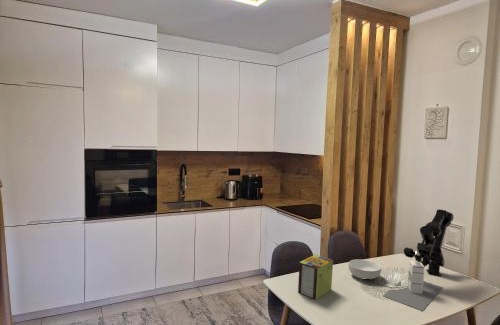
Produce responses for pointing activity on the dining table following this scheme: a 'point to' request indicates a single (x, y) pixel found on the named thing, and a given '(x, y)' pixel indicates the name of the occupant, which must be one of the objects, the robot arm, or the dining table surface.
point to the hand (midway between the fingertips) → (418, 270)
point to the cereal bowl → (364, 269)
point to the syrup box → (416, 277)
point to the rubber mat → (414, 295)
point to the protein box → (315, 276)
